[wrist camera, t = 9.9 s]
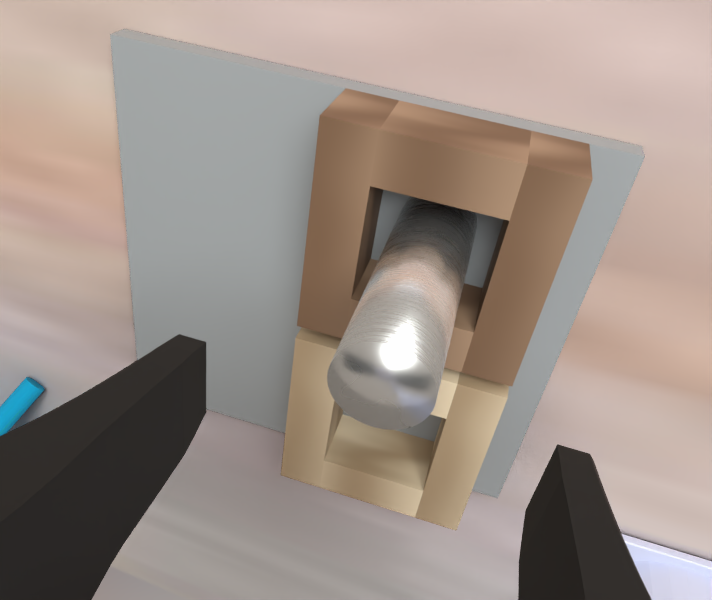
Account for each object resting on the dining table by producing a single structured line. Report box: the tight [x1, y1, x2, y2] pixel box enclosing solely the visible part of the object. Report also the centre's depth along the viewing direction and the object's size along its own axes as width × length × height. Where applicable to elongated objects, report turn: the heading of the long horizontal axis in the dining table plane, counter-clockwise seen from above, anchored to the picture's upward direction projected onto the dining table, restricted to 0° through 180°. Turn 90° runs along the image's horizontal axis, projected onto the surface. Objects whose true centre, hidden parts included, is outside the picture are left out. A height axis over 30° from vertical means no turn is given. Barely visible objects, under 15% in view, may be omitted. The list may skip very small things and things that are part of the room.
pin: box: [327, 196, 477, 430], centre depth 17 cm, size 2×2×8 cm
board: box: [110, 29, 645, 498], centre depth 23 cm, size 16×15×1 cm
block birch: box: [281, 327, 509, 530], centre depth 24 cm, size 7×7×2 cm
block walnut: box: [297, 88, 593, 386], centre depth 19 cm, size 7×7×2 cm
